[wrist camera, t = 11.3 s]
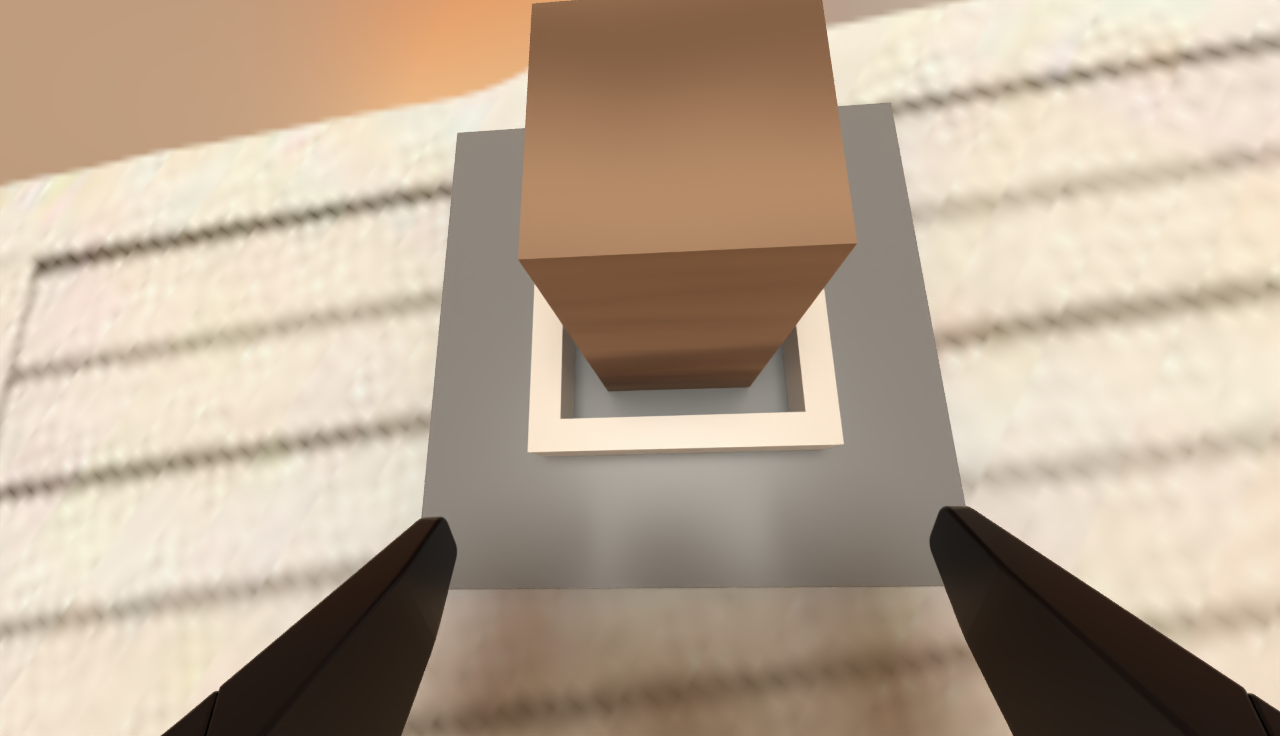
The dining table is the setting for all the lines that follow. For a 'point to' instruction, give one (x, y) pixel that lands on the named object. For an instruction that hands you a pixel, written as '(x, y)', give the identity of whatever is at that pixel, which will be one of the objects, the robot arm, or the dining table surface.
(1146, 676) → the robot arm
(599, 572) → the socket plate
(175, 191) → the dining table surface
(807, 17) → the walnut block
